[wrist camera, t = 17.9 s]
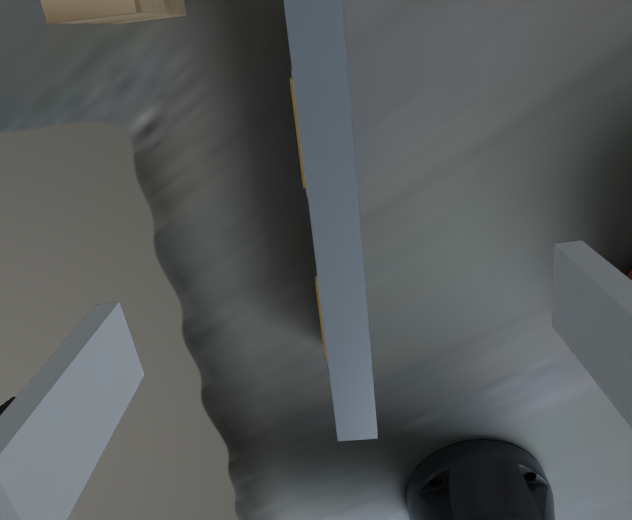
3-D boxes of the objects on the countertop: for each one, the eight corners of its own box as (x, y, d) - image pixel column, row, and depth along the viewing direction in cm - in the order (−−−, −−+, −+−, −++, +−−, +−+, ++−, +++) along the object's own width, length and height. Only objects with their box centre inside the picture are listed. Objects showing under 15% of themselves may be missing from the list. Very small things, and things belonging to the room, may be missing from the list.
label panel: (366, 347, 49) (378, 438, 38) (330, 350, 50) (331, 441, 39) (336, -4, 37) (341, -15, 26) (288, 2, 37) (272, -7, 26)
